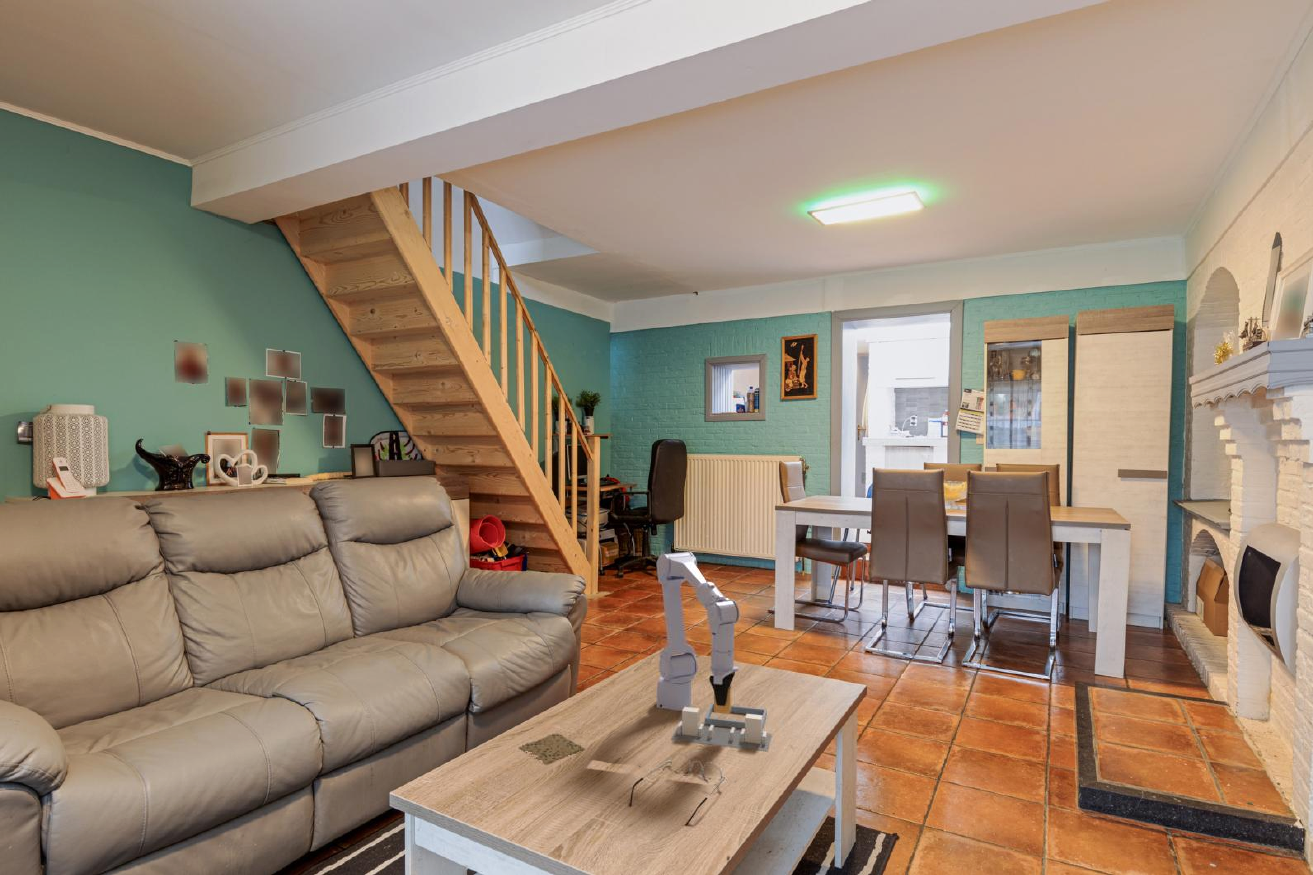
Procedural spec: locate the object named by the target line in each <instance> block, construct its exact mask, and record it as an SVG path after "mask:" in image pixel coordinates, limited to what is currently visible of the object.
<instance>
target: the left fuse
mask: <svg viewBox="0 0 1313 875" xmlns="http://www.w3.org/2000/svg"><path fill="white" fill-rule="evenodd" d="M700 712H701V711H700V708H698V707H692V706H691V707H684V708H683V710H681V721H682V734H684V735H692V736H698V730H699V727H700V725H701V723H700V721H701V720H700V718H701V717H700V716H701V713H700Z"/></svg>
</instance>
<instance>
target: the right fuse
mask: <svg viewBox="0 0 1313 875" xmlns="http://www.w3.org/2000/svg"><path fill="white" fill-rule="evenodd" d="M744 719H745V720H744V722H745V742H750V743H759V744H761V743H762V733H763V731H762V720H763V715H754V714H745V716H744Z"/></svg>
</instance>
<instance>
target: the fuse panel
mask: <svg viewBox="0 0 1313 875" xmlns="http://www.w3.org/2000/svg"><path fill="white" fill-rule="evenodd" d="M772 735H773V734H772V733H769V732H768V731H766V730H763V731H762V743H761V744H759V743H750V742H745V729H744V728H741V730H740V729H736V728H735V727H731V728H724V727H723V728H722V727H715V725H710V726H709V725H708V726H706V725H705V723H700V727H699V730H698V736H692V735H684V734H682V720H680V721H679V723H678V725H677V727H676V729H675V731H674V733H673V735H672V737H671V739H670V740H671V741H676V742H677V741H678V742H685V743H686V742H687V743H693V744H702V745H709V746H718V747H727V748H733V749H734V748H735V749H743V750H751V751H759V752H767V753H768V752H769V749H770V744H771V739H772Z"/></svg>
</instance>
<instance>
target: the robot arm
mask: <svg viewBox="0 0 1313 875" xmlns="http://www.w3.org/2000/svg"><path fill="white" fill-rule="evenodd" d="M656 574H657V579H658V580H657V581H658V583H659V584H660V585H661V589H662V598H663V600H662V601H663V608H664V618H665V626H666V637H667V644H666V645H665V647H663V649H661V650H660V652H659V665H658V669H659V673H660V677H659V678H658V680H657V686H656V708H657V709H658V708H659V709H660V708H661V709H665V710H666V709H667V710H671V711H680V712H682V710H683V708H684V707H691V708H692V680H694V679H695V678H694V677H695V675H696V674H697V673H698V670H699V662H698V659H697V656H696V651H695V648H694V647H692V645H690V644H688V643H687V640H686V630H685V629H686V628H685V623H684V622H685V621H684V611H683V602H682V595H681V593H682V592H681V586H682V584H683V582H685V581H687V582H688V584H690V586H691V587H693V589H694V590H696V591H695V598H696V599H697V600H698V601H699V603H700V604H701V605H702V606H703V608H704V609H705V610H706V616H707V620H708V625H709V626H708V627H709V631H710V632H711V640H710V641H711V644H710V645H711V646H710V647H711V648H710V649H711V651H710V652H711V653H710V654H711V655H710V658H711V659H710V666H709V669H710V671H711V674H712V675H709V683H710V685H711V687H712V690H713V695H714V694H715V699H716V703H717V705H719V706H725V705H726V701H727V695H728V689H729V686H731V684H732V681H733V678H734V676H736V675H735V674H736V673H737V672H739V668H740V667H739V666H735V624H736V623H737V622H738V621H739V619H740V610H739V606H738V604H737V602H736V601H735V600H734V599H730V598H726V597H725V595H723V593H722V592H721V591H720V590H719V589H718V587H717V586H716V584H714V582H711V581H707V580H706V578H705V577H704V576H703V574H702V573H701V571H700V569H699V568H698V562H697V558H696V556H695V555H694V554H693V552H692V551H686V552H677V553H676V552H674V553H661V554H660V555H659V556H658V559H657V561H656Z"/></svg>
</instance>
